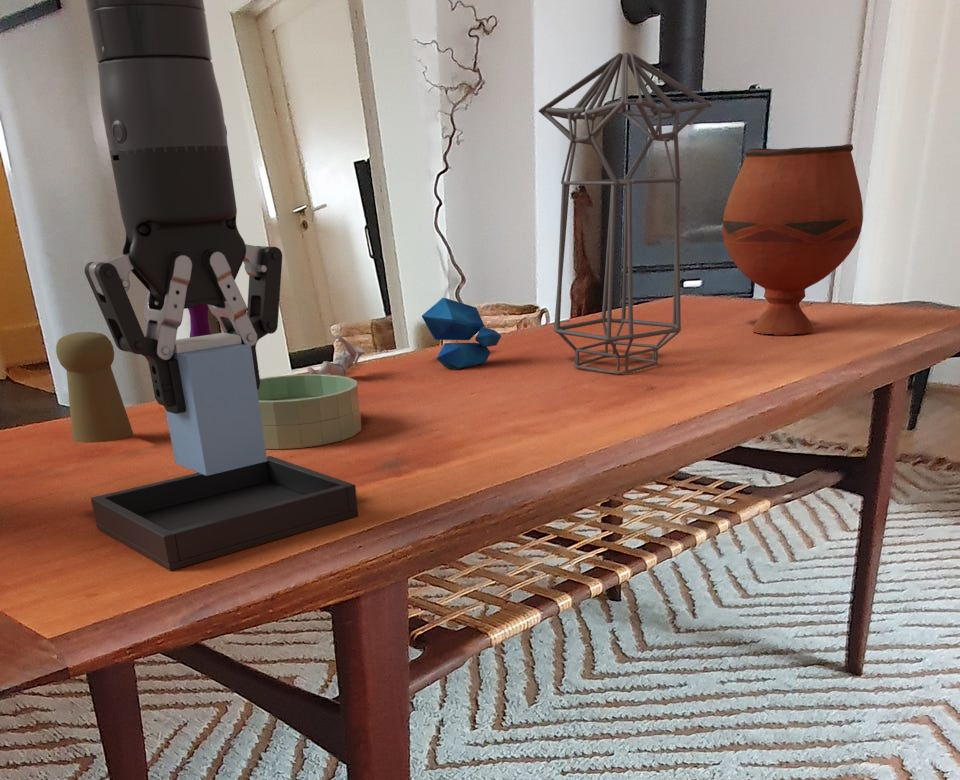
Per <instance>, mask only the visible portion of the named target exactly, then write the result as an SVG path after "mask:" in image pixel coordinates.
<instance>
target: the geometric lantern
mask: <svg viewBox="0 0 960 780" xmlns="http://www.w3.org/2000/svg"><path fill="white" fill-rule="evenodd" d="M628 67H629V69H630V71H631V73H632V75H633V77H634V79H635V84H636V89H637V94H638V95H637V96H638V98H637V99H636V101H628V89H629V88H628V83H629V82H628V80H629V79H628V75H629V72H628V71H629V69H628ZM620 71H621V81H620V82H621V83H620V84H621V86H620V87H621V88H620V100H619V101H615V96H616V91H617V88H618V87H617V86H618V82H619V77H620ZM646 72H648V73H649V74H651V75H652V76H654V77H656V78H657V79H659V80H661V81H662V82H664V83H666V84H668V85H669V86H671V87H672V88H674V89H676V90H677V91H679V92H681V93H682V94H684V95H685V96H687V97H689V98H691V99H692V100H693V101H695V102H697V103H692V104H688V105H683V106H679V107H677V106H676V105H675V104H674V102H673V101H672V100H671V99H670V98H669V97H668V95H667V94H666V93H665V92H663V90H662V89H661V88H660V87H659V85H657V83H655V82H654V80H653V79H652V78H651V77H650V76H649V74H647V73H646ZM597 77H598V78H597ZM596 78H597V79H596ZM614 78H615V80H614ZM594 79H596V80H595V81H594ZM592 81H594V82H593V84H591V86H590V87H589V89H588V90H587V91H586V92H585V94H583V96H582V97H581V98H580V100H578V103H576V105H575V106H574V107H568V108H563V107H555V106H556V105H557V104H559V103H560V102H562V101H563V100H564V99H566V98H568V97H569V96H570V95H572V94H573V93H575V92H576V91H578V90H580V89H581V88H582V87H584V86H586V85H587V84H589V83H590V82H592ZM613 81H614V86H613V91H612V96H611V101H610V103H609V104H605V105H603V103H604V101H605V98H606V96H607V94H608V92H609V90H610V88H611V85H612V83H613ZM645 83H646V84H645ZM646 85H647V86H648V87H649V89H651V91H652V92H653V93H654V94H655V96H656V97H657V98H658V99H659V101H660V102H661V103H662V104H663V105H664V106H657V104H656V102H655V100H654V99H653V97H652V95H651V94H650V92H649V90H648V88H647V86H646ZM642 95H643V97H644V98H645V99H643V97H642ZM595 105H596V106H595ZM627 106H636V107H637V108H638V110H639V111H638V110H630V109H627ZM712 106H713V103H711V102H710V101H708V100H706V99H705V98H703V97H702V96H700V95H699V94H697V93H696V92H694V91H692V90H691V89H689V88H688V87H686V86H685V85H683V84H682V83H680V82H678V81H677V80H675V79H674V78H673V77H672V76H670V75H667V74H666V73H664V72H663V71H661V70H660V69H658V68H657V67H656V66H654V65H652V64H650V63H649V62H647V61H646V60H645V59H643V58H641V57H640V56H638V55H637V54H636V53H633V52H630V53H629V52H622V53H621V52H618V53H617V54H616V55H615V56H613V57H611V58H610V59H609V60H607V61H606V62H604V63H603V64H602V65H600V66H599V67H598V68H596V69H594V70H593V71H591V72H590V73H588V74H587V75H586V76H585V77H582V79H581V80H579V81H578V82H575V83H574V84H573V85H572V86H571V87H569V88H568V89H566V90H564V91H563V92H562V93H561V94H559V95H558V96H556V97H555V98H553V99H551V101H549V102H548V103H546V104H545V105H543V106H542V107H541V108H539V109H538V113H540V114H541V115H542V116H543V117H545V118H546V119H547V120H548V121H549V122H550V123H551V124H552V125H553V126H555V128H557V129H558V130H559V132H561V133H562V134H563V135H564V136H565V137H566V138H567V139H568V140H569V141H570V142H569V146H568V150H567V153H566V159H565V164H564V168H563V172H562V176H561V181H560V184H561V196H560V197H561V200H560V201H561V202H560V218H559V219H560V220H559V221H560V224H559V245H558V265H557V285H556V298H555V311H554V325H553V331H554V333H556V334H558V336H560V337H561V338H562V340H563V341H564V342H565V343H566V344H567V345H568V346H569V347H570V348H571V349H572V350H573V351H574V364H573V367H574V368H576V369H577V368H579V369H580V370H585V369H586V370H585V371H591V370H593V371H592V372H597V371H600V372H599V373H604V372H608V373H607V374H610V373H615V374H614V375H617V374H622V373H628V374H631V373H634V372H638V371H641V370H645V369H647V368H650V367H654V366H658V365H659V360H658V359H659V350H660V349H661V348H662V347H664V346H665V345H667V343H669V342H670V341H671V340H673V338H675V337H676V336H677V335H679V333H680V332H681V331H682V322H681V321H682V320H681V318H682V316H681V315H682V314H681V312H682V311H681V269H680V267H681V264H680V261H681V260H680V202H681V201H680V199H681V196H680V195H681V181H682V178H681V170H680V169H681V168H680V153H679V151H680V150H679V133H680V132H682V130H683V129H684V128H685V127H687V125H689V124H690V123H691V122H692V121H693V120H695V119H696V118H697V117H698V116H699V115H700V114H701V113H702V112H704V111H705V110H706V109H707V108H708V109H709V108H711V107H712ZM645 108H648V109H649V112H648V111H646V109H645ZM689 111H693V112H692V113H691V114H689V115H688V117H686V119H684V120H683V121H682V122H681V123H680V113H684V112H689ZM583 113H584V114H583ZM662 113H663V114H662ZM616 115H623V117H625V118H626V119H627V120H628V121H630V122H631V123H632V124H633V125H634V126H635V127H636V128H637V129H638V130H640V131H641V133H643V135H645V136H646V137H647V138H648V140H647V141H646V143H645V144H644V146H643V147H642V149H641V151H640V153H639V154H638V156H637V157H636V159H635V160H634V162H633V164H632V166H631V167H630V169H629V171H628V172H627V174H626V175H625V176H624V178H619V179H617V177H616V175H615V173H614V172H613V169H612V168H611V166H610V164H609V162H608V160H607V158H606V156H605V154H604V152H603V150H602V149H601V146H600V144H599V142H598V140H597V139H598V137H599V135H601V133H602V131H603V129H604V128H605V127H606V125H607V124H608V123H609V122H610V121H611V119H613V117H615V116H616ZM604 116H605V117H604ZM555 117H556V118H560V119H564V120H565V119H566V120H568V128H569V129H568V128H566V127H565V126H564V125H563V124H562V123H560V121H558V120H557V119H555ZM601 117H604V118H603V120H602V121H600V123H598V124H597V126H596V127H595V126H594V125H595V121H596V119H597V118H601ZM635 117H642V118H643V120H644V122H645V124H646V126H647V128H648V129H647V128H646V127H645V126H644V125H642V124H641V123H640V122H639V121H638V120H637V119H636V118H635ZM650 118H651V119H654V120H655V121H656V126H655V127H654V125H653V122H652V120H651V119H650ZM668 119H669V120H670V119H673V125H672V131H670V132H665V133H663V130H662V129H663V128H662V127H663V125H662V123H663V122H662V121H663V120H668ZM578 120H584V124H585V131H586V135H582V136H578V137H577V121H578ZM589 120H590V123H589ZM679 123H680V124H679ZM594 127H595V128H594ZM654 141H657V142H663V143H664V144H663V145H664V147H665V152H666V156H667V162H668V167H669V169H670V174H671V177H661V178H659V177H658V178H633V176H634V175H635V173H636V172H637V170H638V168H639V166H640V164H641V162H642V161H643V159H644V157H645V156H646V154H647V153H648V150H649V149H650V147H651V145H652V143H653V142H654ZM670 141H673V153H674V167H673V164H672V159H671V155H670V151H669V146H668V143H669V142H670ZM577 144H583V145H588V146H591V148H592V149H593V151H594V153H595V155H596V156H597V158H598V161H600V163H601V165H602V166H603V169H604V170H605V172H606V173H607V175H608V177H609V178H608V179H607V178H606V179H590V180H571V178H572V177H571V176H572V171H573V166H574V159H575V154H576V149H577ZM674 169H675V172H674ZM565 178H566V179H565ZM662 183H664V184H665V183H666V184H667V183H673V213H674V214H673V219H674V220H673V221H674V223H673V225H674V239H673V240H674V241H673V242H674V245H673V290H672V291H673V293H672V294H673V296H672V297H673V299H672V322H663V321H653V320H641V319H634V297H633V296H634V290H633V289H634V288H633V287H634V285H633V284H634V283H633V282H634V281H633V277H634V276H633V275H634V274H633V185H635V184H636V185H637V184H662ZM591 185H592V186H602V185H603V186H610V197H609V198H610V199H609V212H608V213H609V214H608V223H607V224H608V227H607V241H606V254H605V268H604V269H605V270H604V283H603V294H602V295H603V296H602V297H603V298H602V309H601V318H597V319H591V320H587V321H581V322H576V323H569V324H565V325H561V312H562V311H561V310H562V291H563V290H562V289H563V288H562V287H563V273H564V261H565V251H566V249H565V248H566V239H567V237H566V236H567V226H568V225H567V224H568V213H569V199H570V187H571V186H591ZM617 186H625V187H624V209H623V211H624V212H623V247H622V248H623V250H622V251H623V252H622V253H623V254H622V288H621V289H622V291H621V292H622V293H621V318H613V317H612V316H613V293H614V292H613V290H614V265H615V264H614V263H615V240H616V239H615V235H616V212H617V210H616V209H617V208H616V207H617ZM627 309H628V311H627ZM626 312H627V313H626ZM626 314H628V315H627V317H628V318H626ZM614 323H615V324H619V326H618V329H617V331H616V335H615V336H612V324H614ZM597 324H602V326H603V327H602V328H603V332H604V335H600V334H594V333H588V332H580V331H574V330H570V329H576V328H581V327H586V326H591V325H597ZM624 324H628V334H624V335H623V334H622V335H620V333H621V332H622V328H623V327H624ZM634 325H642V326H651V327H660V328H661V327H662V328H666V329H660V330H653V331H647V332H640V333H634ZM670 334H671V335H670ZM661 335H663V336H662V337H661V339H660V340H658V342H657V343H656V344H647V343H636V342H633V341H634V340H637V339H643V338H650V337H655V336H661ZM669 335H670V336H669ZM567 336H572V337H580V338H586V339H593V340H598V341H601V342H597V343H593V344H588V345H584V346H581V347H576V346H575V344H573V343H572V341H570V339H569V338H568V337H567ZM626 340H629V341H628V342H624V341H626ZM609 345H611V348H612V353H609V352H608V349H609ZM599 346H604V352H603V351H596V350H589V349H591V348H595V347H599ZM617 346H627V347H626V350H625V352H624V354H620V353H619V351H618V349H617ZM631 347H637V348H638V347H640V348H647V349H642V350H637V351H632V352H630V350H631ZM651 352H652V358H644V357H637V356H636V355H640V354H641V355H642V354H646V353H651ZM580 353H584V354H590V355H597V357H594V358H590V359H587V360H583V361H580ZM609 358H611V359H612V358H615V359H616V370H609V369H604V368H596V367H591V366H584V365H586V364H589V363H592V362H595V361H600V360H603V359H609ZM620 359H625V360H624V361H625V362H624V370H622V371H620V370H621V368H620V367H621V366H620V365H621V361H620ZM629 360H634V361H639V362H647V363H648V364H644V365H641V366H637V367H635V368H634V367H633V368H631V369H629ZM579 369H578V370H579ZM640 369H641V370H640ZM637 370H638V371H637ZM633 371H634V372H633ZM630 372H631V373H630ZM622 375H623V374H622Z"/></svg>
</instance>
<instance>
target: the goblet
mask: <svg viewBox="0 0 960 780" xmlns="http://www.w3.org/2000/svg"><path fill="white" fill-rule="evenodd" d="M853 150H854V146H853V144H852V143H845V144H841V145H830V146H813V147H812V146H811V147H810V146H804V147H791V148H763V147H762V148H760V147H759V148H758V147H755V148H748V149H747V150H745V151H744V152H745V153H744V155H745V158H744V160H743V162H742V165H741V167H740V169H739V171H738V174H737V177H736V178H735V181H734V184H733V186H732V188H731V190H730V193H729V196H728V198H727V202H726V205H725V207H724V211H723V217H722V227H721V231H722V240H723V244H724V247H725V249H726V251H727V254H728V256H729V257H730V259H731V260H732V262H733V263H734V265H735V266H736V267H737V269H738V270H739V271H740V272H741V273H742V275H744V276H745V277H746V278H747V279H748V280H750V281H751V282H753V283H754V284H756V285H757V286H759V287H761V288H763V289H764V294H763V297H764V299H765V300H766V301H767V302H768V303H769V304H768V306H767V309H766V310H765V311H764V312H763V313H762V314H761V315H760V316H759V318H758V319H757V320H756V321H755V322H754V324H753V327H752V330H753V331H754V332H756V333H755V334H757V333H762V334H761V335H763V334H774V335H773V336H795V335H794V334H799V335H806V333H807V334H810V332H811V333H812V332H813V331H814V327H813V323H812V321H811V320H810V319H809V317H807V315H806V314H805V313H804V311H803V310H802V308H801V305H800V304H801V302H802V301H803V300H804V299H805V298H806V290H807V289H808V288H810V287H812V286H814V285H815V284H818V283H819V282H820V281H822V280H824V279H825V278H826V277H827V276H829V275H830V274H831V273H833V272H834V271H835V270H836V269H837V268H838V267H840V265H841V264H842V263H843V262H844V261H845V260H846V259H847V258H848V257H849V255H850V254H851V252H852V251H853V249H854V248H855V246H856V244H857V242H858V241H859V238H860V235H861V232H862V228H863V222H864V208H863V207H864V206H863V199H862V198H863V197H862V192H861V188H860V184H859V179H858V175H857V170H856V166H855V161H854V158H853V154H852V151H853ZM753 331H752V332H753ZM754 332H753V333H754Z"/></svg>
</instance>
